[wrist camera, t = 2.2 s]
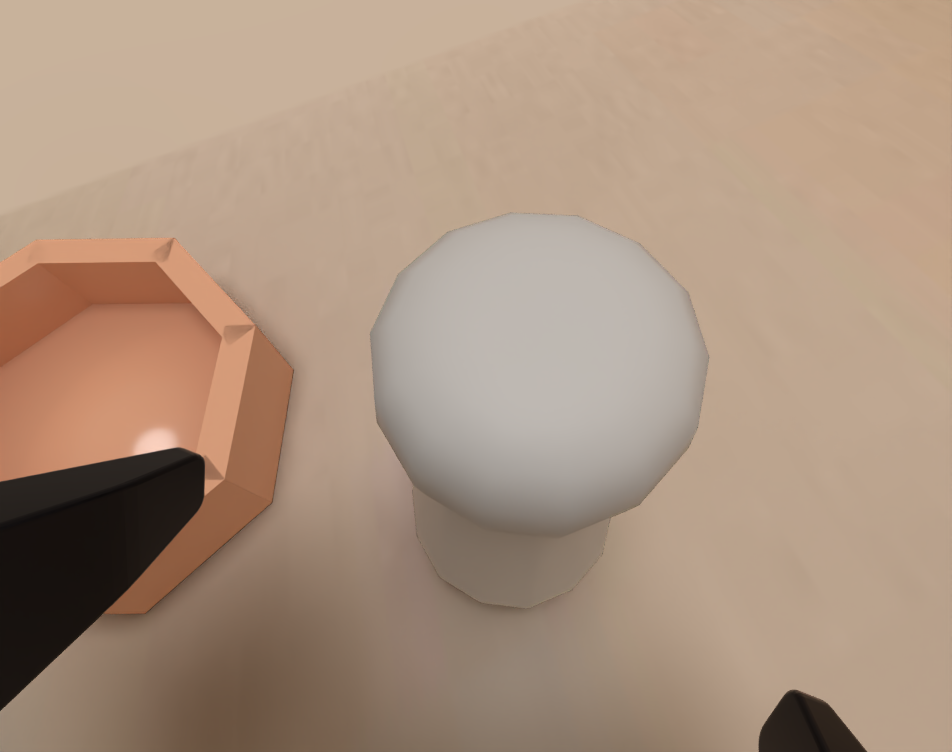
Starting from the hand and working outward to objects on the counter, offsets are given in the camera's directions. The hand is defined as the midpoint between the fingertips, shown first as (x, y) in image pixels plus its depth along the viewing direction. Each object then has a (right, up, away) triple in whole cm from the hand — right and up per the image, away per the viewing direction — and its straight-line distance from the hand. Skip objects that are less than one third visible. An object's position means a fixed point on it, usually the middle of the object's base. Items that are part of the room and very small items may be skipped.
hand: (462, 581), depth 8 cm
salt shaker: (+1, -2, +10) cm, 11 cm away
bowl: (-13, +1, +12) cm, 17 cm away
